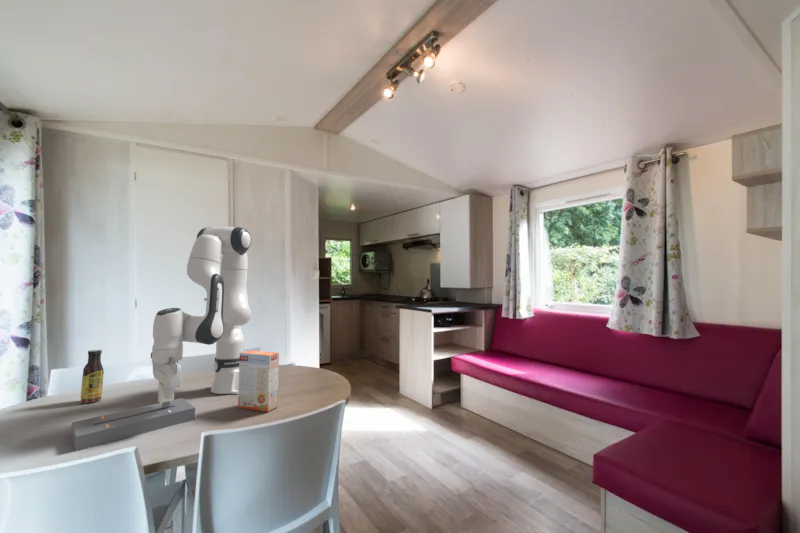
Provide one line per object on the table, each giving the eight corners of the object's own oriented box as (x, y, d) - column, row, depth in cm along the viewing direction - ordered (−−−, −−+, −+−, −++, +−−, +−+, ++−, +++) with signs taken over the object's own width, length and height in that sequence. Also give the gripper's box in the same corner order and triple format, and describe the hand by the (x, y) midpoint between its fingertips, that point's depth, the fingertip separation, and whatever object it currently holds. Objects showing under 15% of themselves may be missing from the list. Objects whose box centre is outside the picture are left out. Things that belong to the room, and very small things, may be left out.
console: (182, 408, 127) (182, 397, 128) (194, 419, 118) (195, 407, 118) (71, 435, 105) (71, 421, 105) (75, 451, 96) (76, 436, 96)
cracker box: (278, 407, 130) (279, 352, 131) (267, 413, 124) (269, 355, 125) (249, 402, 134) (250, 349, 135) (237, 408, 129) (238, 352, 130)
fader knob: (171, 403, 120) (172, 380, 120) (173, 406, 118) (174, 382, 118) (157, 406, 117) (158, 383, 117) (160, 409, 115) (160, 385, 115)
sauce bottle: (88, 404, 130) (91, 352, 131) (75, 403, 131) (78, 351, 132) (106, 399, 137) (108, 349, 137) (94, 397, 138) (96, 348, 139)
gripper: (187, 359, 114) (186, 401, 113) (170, 349, 127) (168, 387, 127) (165, 362, 109) (163, 406, 108) (149, 352, 123) (148, 391, 122)
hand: (166, 395), depth 118 cm, fingers open, 6 cm apart
